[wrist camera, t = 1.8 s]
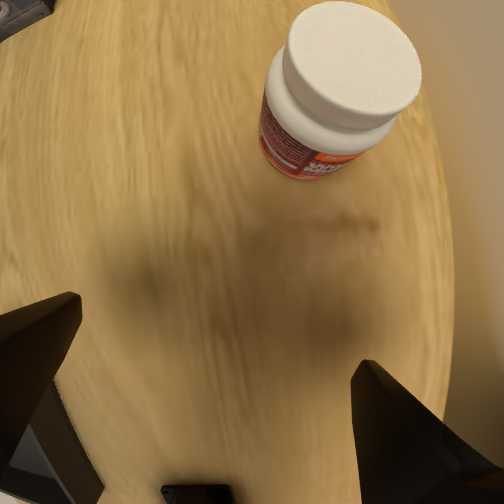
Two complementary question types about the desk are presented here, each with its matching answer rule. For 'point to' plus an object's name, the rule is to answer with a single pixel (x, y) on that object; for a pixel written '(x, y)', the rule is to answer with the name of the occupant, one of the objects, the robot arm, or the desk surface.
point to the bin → (51, 460)
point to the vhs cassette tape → (21, 14)
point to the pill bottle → (335, 88)
